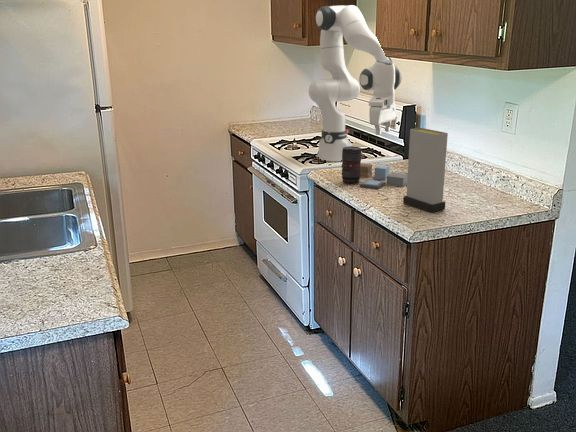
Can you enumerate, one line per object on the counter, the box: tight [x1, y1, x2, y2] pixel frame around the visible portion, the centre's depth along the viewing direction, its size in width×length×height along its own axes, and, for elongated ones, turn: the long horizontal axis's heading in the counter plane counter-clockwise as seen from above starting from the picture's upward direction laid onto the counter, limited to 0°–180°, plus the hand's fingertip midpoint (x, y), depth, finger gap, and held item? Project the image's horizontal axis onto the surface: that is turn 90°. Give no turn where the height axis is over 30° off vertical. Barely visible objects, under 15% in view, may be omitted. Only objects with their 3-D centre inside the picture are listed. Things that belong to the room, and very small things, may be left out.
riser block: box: [386, 171, 408, 188], centre depth 249 cm, size 7×7×4 cm
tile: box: [359, 179, 386, 190], centre depth 247 cm, size 8×8×2 cm
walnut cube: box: [360, 163, 373, 179], centre depth 262 cm, size 5×5×5 cm
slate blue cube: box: [373, 164, 391, 181], centre depth 258 cm, size 5×5×5 cm
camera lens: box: [341, 145, 363, 185], centre depth 250 cm, size 8×8×15 cm
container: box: [402, 127, 449, 213], centre depth 215 cm, size 7×18×30 cm, turn 34°
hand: (383, 133), depth 252 cm, fingers open, 8 cm apart
